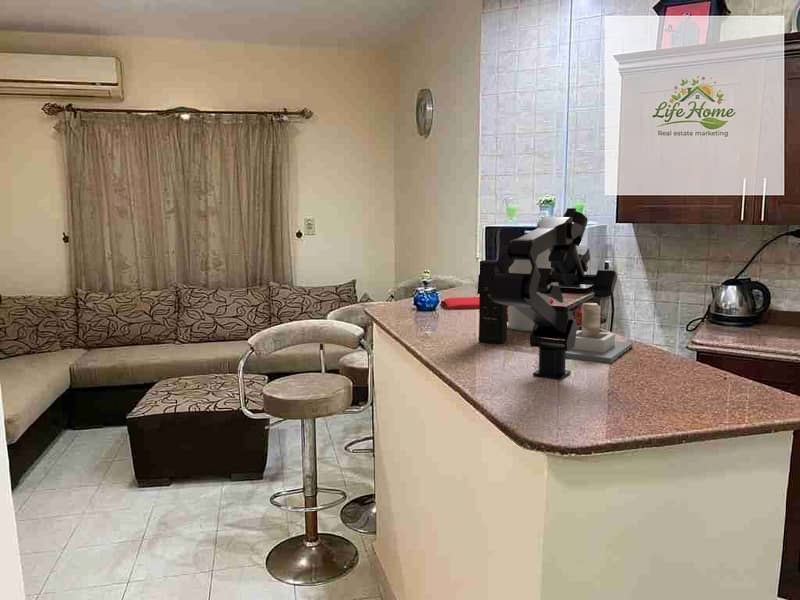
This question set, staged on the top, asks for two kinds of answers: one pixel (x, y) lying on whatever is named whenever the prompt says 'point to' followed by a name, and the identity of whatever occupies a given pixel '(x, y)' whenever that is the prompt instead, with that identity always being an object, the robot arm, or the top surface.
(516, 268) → the cylinder vase
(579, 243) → the robot arm
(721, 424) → the top surface
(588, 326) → the birch pin
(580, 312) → the dragon fruit
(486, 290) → the portable radio
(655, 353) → the top surface
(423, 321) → the top surface
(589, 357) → the socket board
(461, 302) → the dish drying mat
